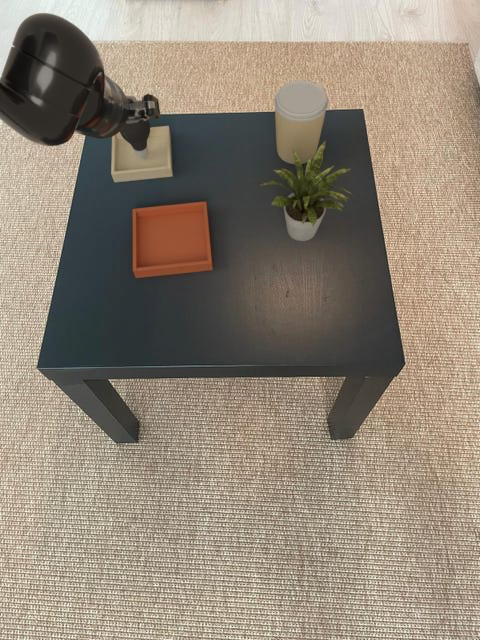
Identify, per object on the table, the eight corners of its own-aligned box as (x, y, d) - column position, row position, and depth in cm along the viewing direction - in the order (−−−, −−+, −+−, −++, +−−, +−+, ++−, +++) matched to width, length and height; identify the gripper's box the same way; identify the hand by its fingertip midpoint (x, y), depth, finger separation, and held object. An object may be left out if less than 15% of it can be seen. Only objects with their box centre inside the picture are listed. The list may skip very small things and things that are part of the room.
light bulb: (131, 145, 95) (117, 102, 86) (159, 146, 95) (148, 103, 86) (126, 167, 92) (112, 125, 83) (155, 167, 92) (144, 125, 83)
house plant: (281, 280, 80) (286, 218, 66) (243, 222, 86) (240, 153, 72) (353, 247, 83) (373, 180, 68) (312, 192, 89) (322, 120, 74)
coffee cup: (315, 130, 96) (322, 76, 85) (324, 165, 92) (333, 112, 81) (269, 135, 96) (270, 81, 85) (276, 170, 91) (278, 118, 81)
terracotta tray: (135, 278, 82) (132, 271, 80) (135, 217, 88) (132, 208, 85) (213, 270, 82) (211, 262, 80) (207, 209, 88) (206, 201, 86)
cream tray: (114, 182, 91) (111, 173, 89) (115, 140, 96) (112, 131, 94) (172, 176, 92) (170, 167, 90) (170, 134, 97) (168, 125, 95)
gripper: (145, 64, 57) (159, 85, 73) (25, 75, 57) (65, 94, 72) (154, 131, 60) (166, 137, 75) (40, 142, 59) (75, 146, 75)
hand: (116, 116), depth 74 cm, fingers open, 8 cm apart
